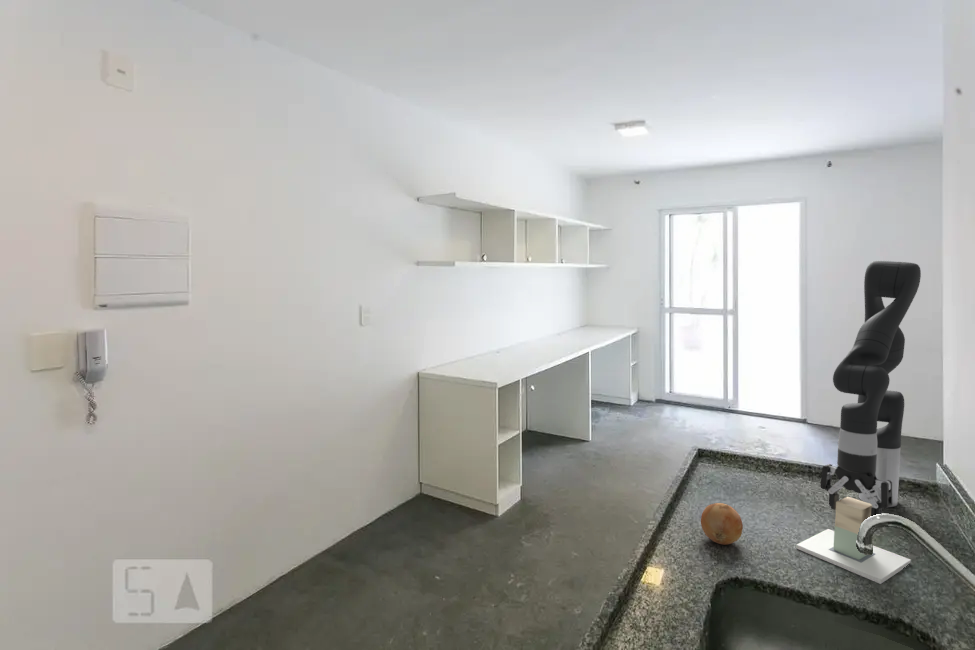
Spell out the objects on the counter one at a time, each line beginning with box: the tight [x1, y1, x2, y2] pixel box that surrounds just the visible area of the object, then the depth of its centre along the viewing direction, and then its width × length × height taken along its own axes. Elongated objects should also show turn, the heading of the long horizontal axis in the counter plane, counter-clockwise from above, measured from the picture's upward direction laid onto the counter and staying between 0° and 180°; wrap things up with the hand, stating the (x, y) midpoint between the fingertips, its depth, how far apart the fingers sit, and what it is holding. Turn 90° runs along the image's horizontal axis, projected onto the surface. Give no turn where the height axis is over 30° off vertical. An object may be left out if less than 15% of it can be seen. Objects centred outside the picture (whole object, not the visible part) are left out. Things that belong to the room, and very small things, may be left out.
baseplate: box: [795, 528, 912, 585], centre depth 127 cm, size 15×18×1 cm
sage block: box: [833, 525, 866, 560], centre depth 126 cm, size 6×6×6 cm
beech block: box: [834, 496, 873, 534], centre depth 126 cm, size 6×6×6 cm
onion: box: [700, 502, 744, 546], centre depth 134 cm, size 10×10×10 cm
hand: (853, 515), depth 126 cm, fingers open, 8 cm apart
